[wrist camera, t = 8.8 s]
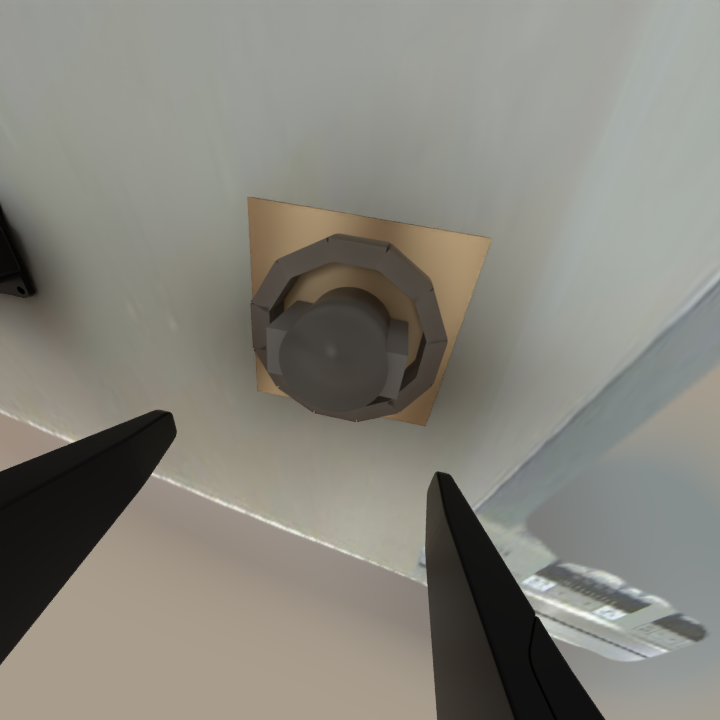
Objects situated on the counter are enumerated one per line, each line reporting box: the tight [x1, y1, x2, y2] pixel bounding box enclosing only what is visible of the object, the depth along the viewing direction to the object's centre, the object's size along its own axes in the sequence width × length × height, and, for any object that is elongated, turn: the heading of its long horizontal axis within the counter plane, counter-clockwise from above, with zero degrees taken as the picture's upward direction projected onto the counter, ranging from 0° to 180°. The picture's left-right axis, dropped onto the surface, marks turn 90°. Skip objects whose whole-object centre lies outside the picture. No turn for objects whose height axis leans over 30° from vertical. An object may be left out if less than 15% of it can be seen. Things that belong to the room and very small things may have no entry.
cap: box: [266, 287, 408, 412], centre depth 15 cm, size 6×5×4 cm
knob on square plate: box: [248, 197, 492, 426], centre depth 16 cm, size 12×12×3 cm
